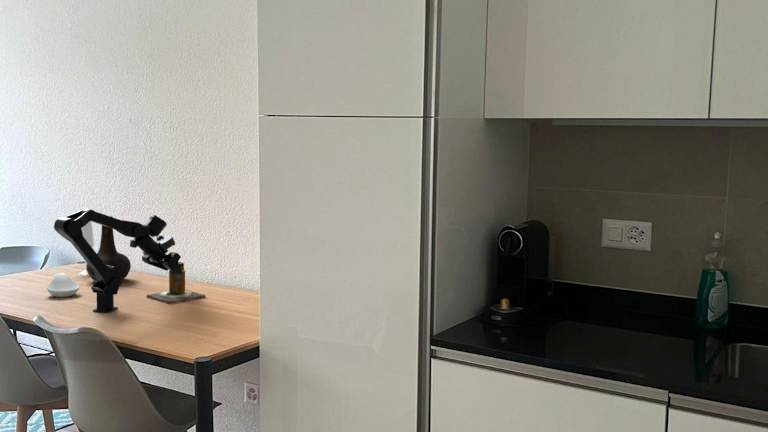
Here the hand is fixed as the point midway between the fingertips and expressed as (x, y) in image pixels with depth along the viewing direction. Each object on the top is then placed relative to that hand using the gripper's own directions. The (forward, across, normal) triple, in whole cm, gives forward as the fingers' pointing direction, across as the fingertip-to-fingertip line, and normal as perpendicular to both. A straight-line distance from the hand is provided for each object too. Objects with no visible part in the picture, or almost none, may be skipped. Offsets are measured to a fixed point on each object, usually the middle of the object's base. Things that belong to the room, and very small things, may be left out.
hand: (174, 271), depth 293 cm
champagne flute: (+8, +69, +7) cm, 70 cm away
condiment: (+7, -1, +6) cm, 9 cm away
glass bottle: (+6, +46, +9) cm, 47 cm away
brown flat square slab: (+8, 0, +7) cm, 10 cm away
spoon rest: (-11, +39, +26) cm, 48 cm away
